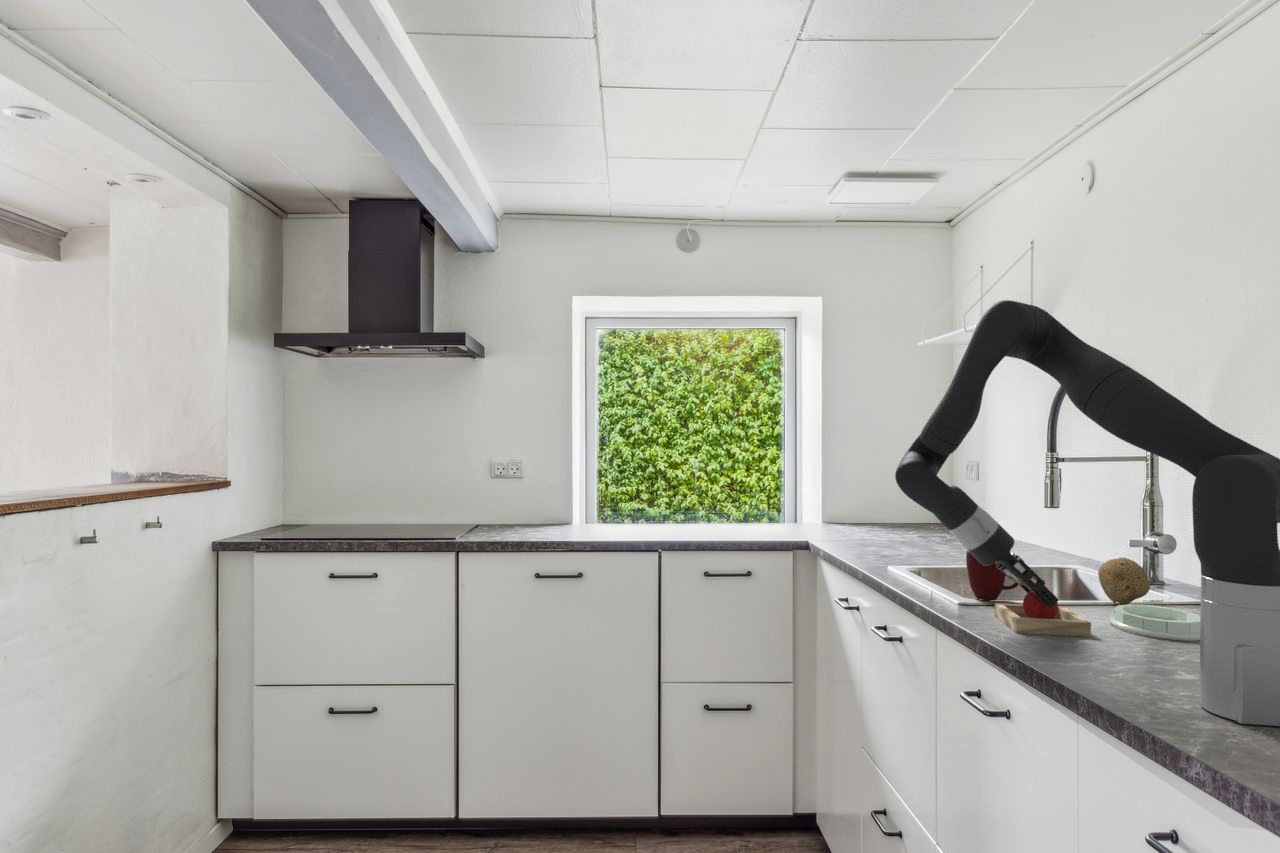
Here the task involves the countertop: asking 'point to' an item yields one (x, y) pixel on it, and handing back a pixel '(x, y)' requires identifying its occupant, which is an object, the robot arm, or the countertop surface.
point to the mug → (985, 579)
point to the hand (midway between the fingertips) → (1045, 598)
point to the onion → (1038, 607)
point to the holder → (1042, 621)
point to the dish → (1157, 622)
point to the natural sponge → (1123, 580)
